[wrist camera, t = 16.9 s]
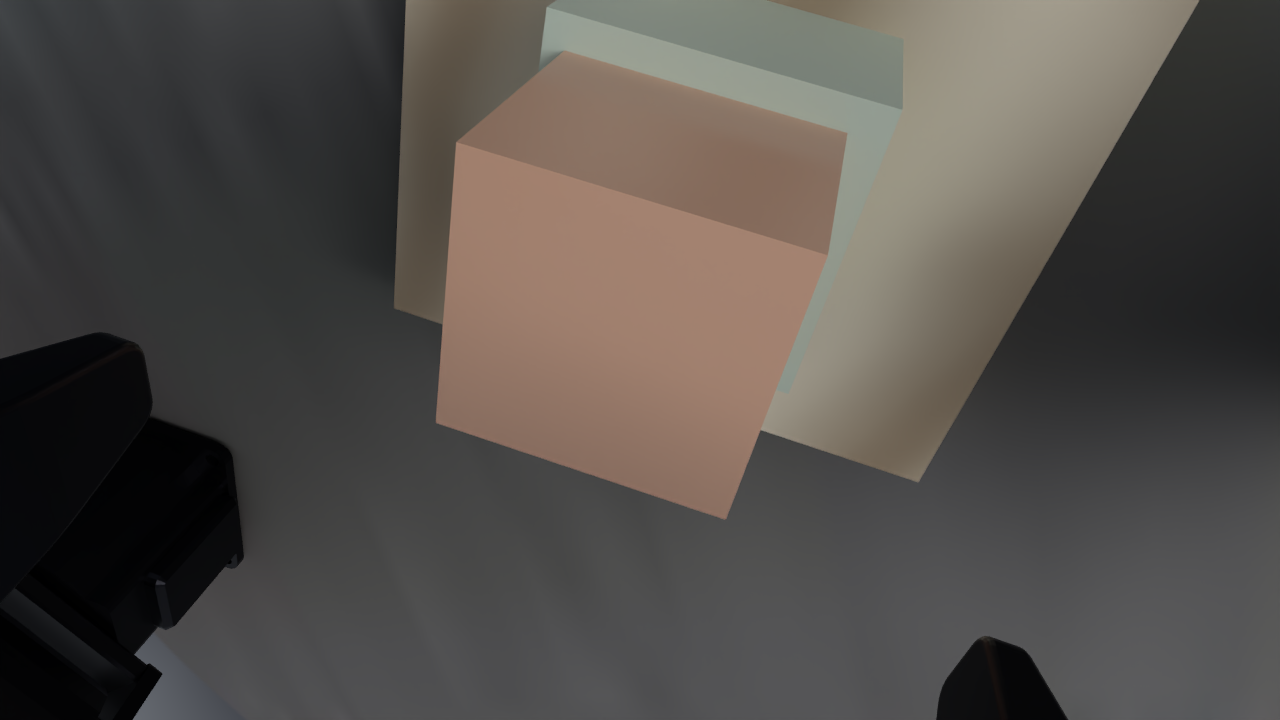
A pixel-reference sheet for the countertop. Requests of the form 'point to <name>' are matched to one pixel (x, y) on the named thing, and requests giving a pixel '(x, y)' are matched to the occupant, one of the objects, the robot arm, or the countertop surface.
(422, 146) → the birch plinth
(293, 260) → the countertop surface
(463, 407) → the terracotta cube
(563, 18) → the sage block
